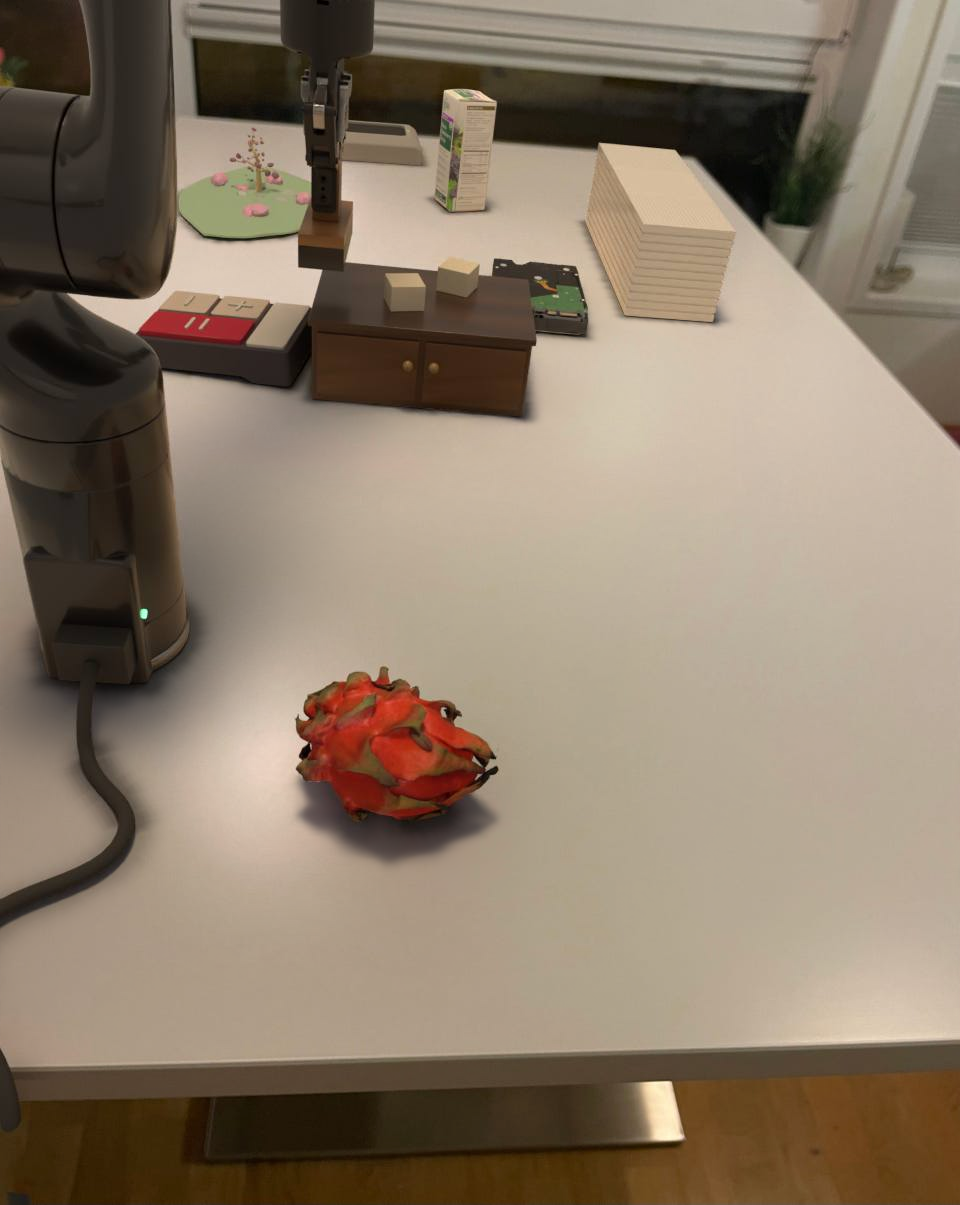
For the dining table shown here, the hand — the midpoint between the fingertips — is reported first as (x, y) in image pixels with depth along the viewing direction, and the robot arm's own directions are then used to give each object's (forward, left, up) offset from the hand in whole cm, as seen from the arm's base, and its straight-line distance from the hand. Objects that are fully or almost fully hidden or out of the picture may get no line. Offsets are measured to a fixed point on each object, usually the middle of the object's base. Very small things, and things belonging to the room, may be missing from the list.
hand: (325, 204), depth 91 cm
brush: (0, 0, -4) cm, 4 cm away
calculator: (+1, +9, -16) cm, 19 cm away
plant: (+44, +13, -16) cm, 49 cm away
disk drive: (+20, -23, -16) cm, 34 cm away
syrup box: (+54, -14, -16) cm, 58 cm away
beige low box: (+75, 0, -16) cm, 77 cm away
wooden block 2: (+3, -13, -8) cm, 15 cm away
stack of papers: (+36, -38, -16) cm, 54 cm away
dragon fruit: (-54, -10, -16) cm, 57 cm away
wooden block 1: (-2, -8, -8) cm, 11 cm away
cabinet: (0, -10, -16) cm, 18 cm away
